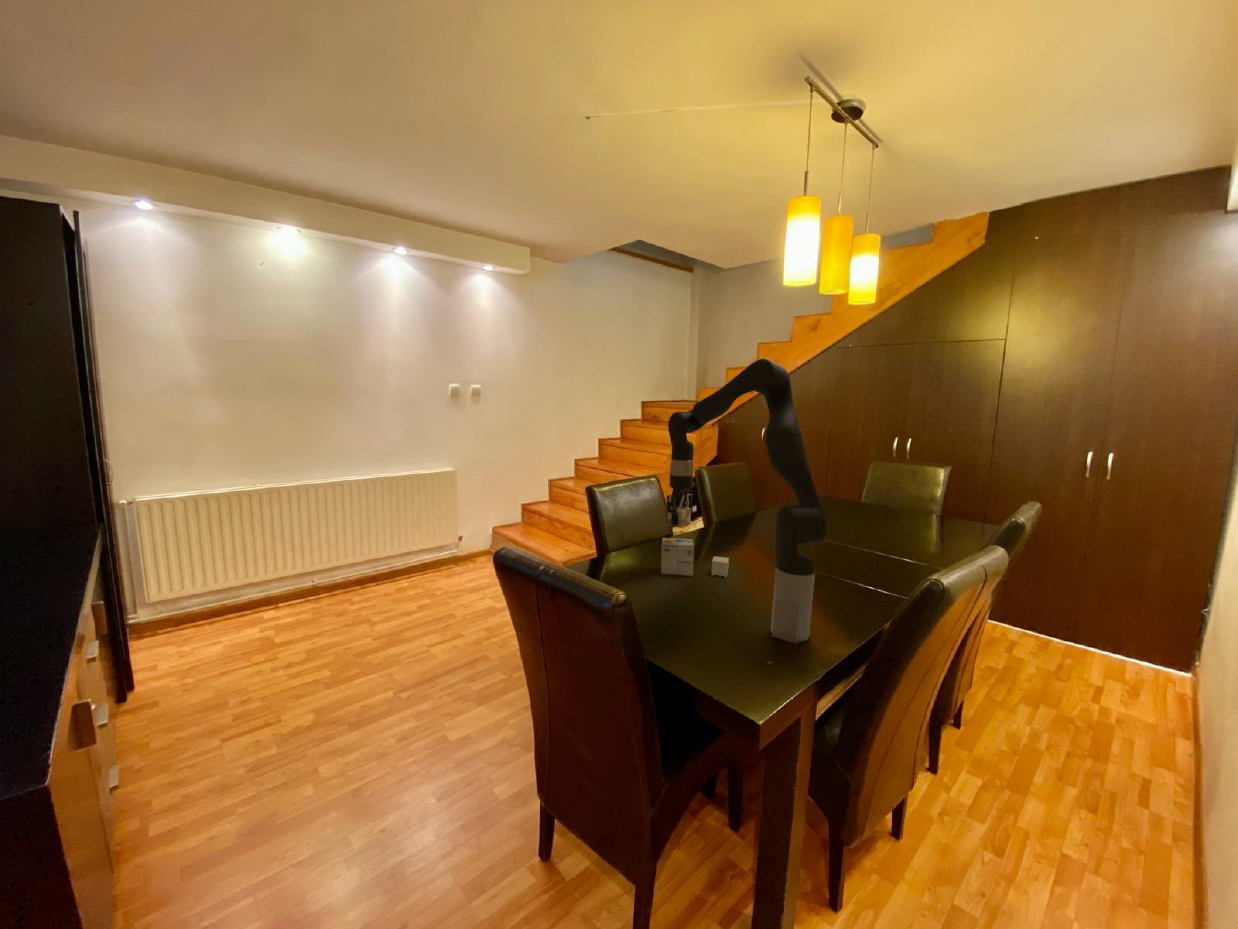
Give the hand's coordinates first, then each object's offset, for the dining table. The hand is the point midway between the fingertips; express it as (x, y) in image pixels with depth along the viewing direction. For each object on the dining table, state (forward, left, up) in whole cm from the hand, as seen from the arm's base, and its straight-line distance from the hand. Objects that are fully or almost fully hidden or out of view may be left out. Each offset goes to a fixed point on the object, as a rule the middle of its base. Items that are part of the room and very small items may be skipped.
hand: (679, 523), depth 165 cm
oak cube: (0, 0, -1) cm, 1 cm away
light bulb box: (0, 0, -17) cm, 17 cm away
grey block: (+8, -12, -17) cm, 22 cm away
